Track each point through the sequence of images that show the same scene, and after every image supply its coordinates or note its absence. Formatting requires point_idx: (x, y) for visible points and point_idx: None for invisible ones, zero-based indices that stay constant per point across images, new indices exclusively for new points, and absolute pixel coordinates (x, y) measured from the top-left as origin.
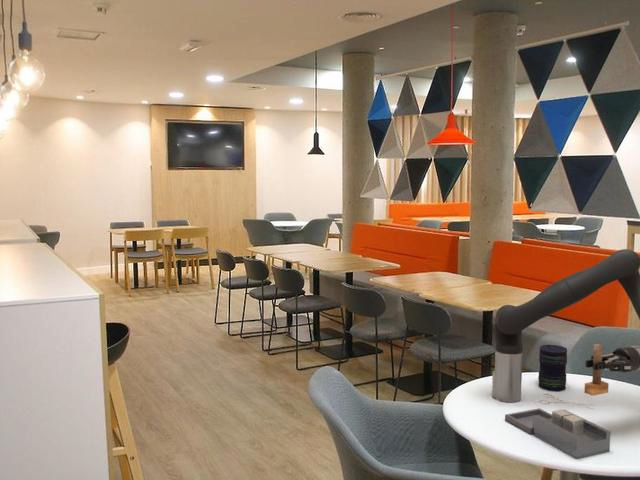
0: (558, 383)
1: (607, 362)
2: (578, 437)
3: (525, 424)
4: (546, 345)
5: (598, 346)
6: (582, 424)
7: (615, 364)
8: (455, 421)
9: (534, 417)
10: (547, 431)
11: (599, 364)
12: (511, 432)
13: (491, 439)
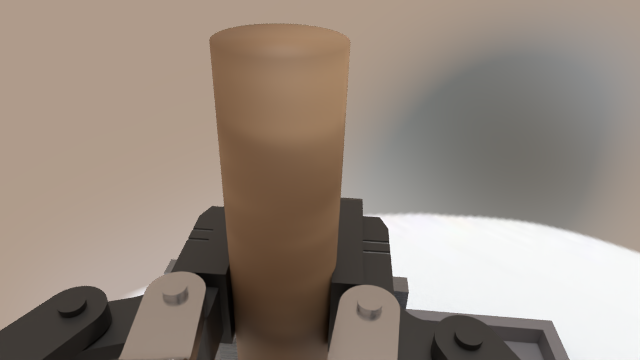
0: None
1: (148, 287)
2: (171, 267)
3: (439, 318)
4: None
5: (242, 31)
6: (221, 346)
7: (25, 326)
8: (551, 231)
9: (396, 280)
10: None
11: (210, 228)
12: (435, 294)
13: (407, 232)
